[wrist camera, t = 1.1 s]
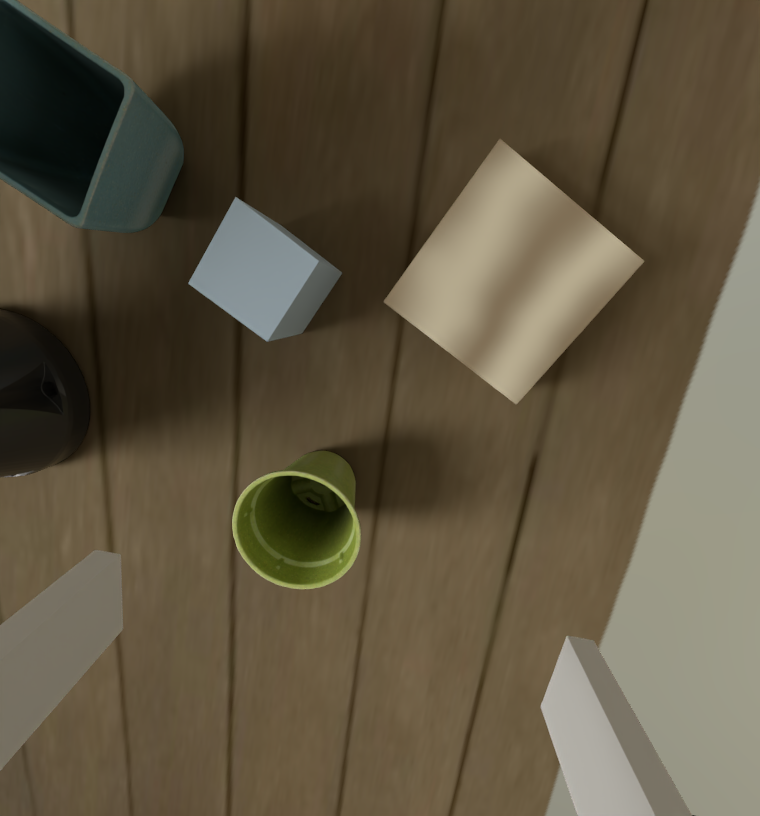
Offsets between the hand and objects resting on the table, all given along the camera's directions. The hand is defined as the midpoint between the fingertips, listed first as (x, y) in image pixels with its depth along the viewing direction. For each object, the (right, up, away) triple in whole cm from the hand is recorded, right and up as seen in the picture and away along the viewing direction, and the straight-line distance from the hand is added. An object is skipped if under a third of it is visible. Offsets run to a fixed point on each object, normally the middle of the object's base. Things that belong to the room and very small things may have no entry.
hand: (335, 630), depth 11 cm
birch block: (+10, +16, +19) cm, 27 cm away
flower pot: (-17, +25, +19) cm, 36 cm away
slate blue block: (-6, +17, +20) cm, 27 cm away
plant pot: (-4, 0, +24) cm, 25 cm away
